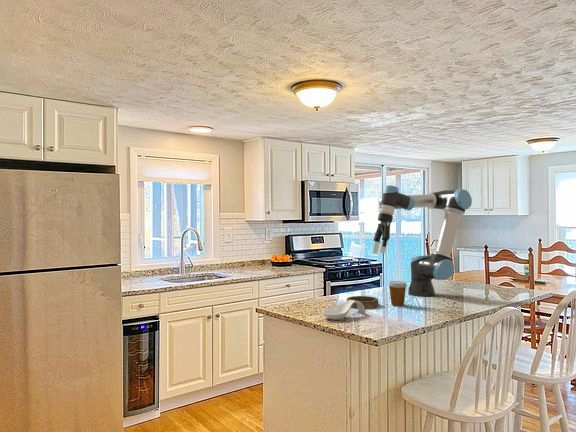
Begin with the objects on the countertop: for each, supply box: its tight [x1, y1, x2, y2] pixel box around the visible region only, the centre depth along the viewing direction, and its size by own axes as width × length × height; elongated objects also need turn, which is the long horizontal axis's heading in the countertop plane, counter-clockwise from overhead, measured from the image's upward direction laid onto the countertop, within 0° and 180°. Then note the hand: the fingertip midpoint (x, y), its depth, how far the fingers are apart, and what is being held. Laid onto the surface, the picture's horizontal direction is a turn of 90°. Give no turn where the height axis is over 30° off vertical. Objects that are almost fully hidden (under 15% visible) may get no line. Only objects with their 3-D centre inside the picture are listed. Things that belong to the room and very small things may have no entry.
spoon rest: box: [322, 300, 366, 321], centre depth 204 cm, size 24×12×7 cm, turn 128°
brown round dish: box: [346, 295, 380, 310], centre depth 229 cm, size 17×17×4 cm
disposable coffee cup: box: [387, 280, 408, 307], centre depth 229 cm, size 10×10×12 cm
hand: (378, 253), depth 231 cm, fingers open, 13 cm apart
